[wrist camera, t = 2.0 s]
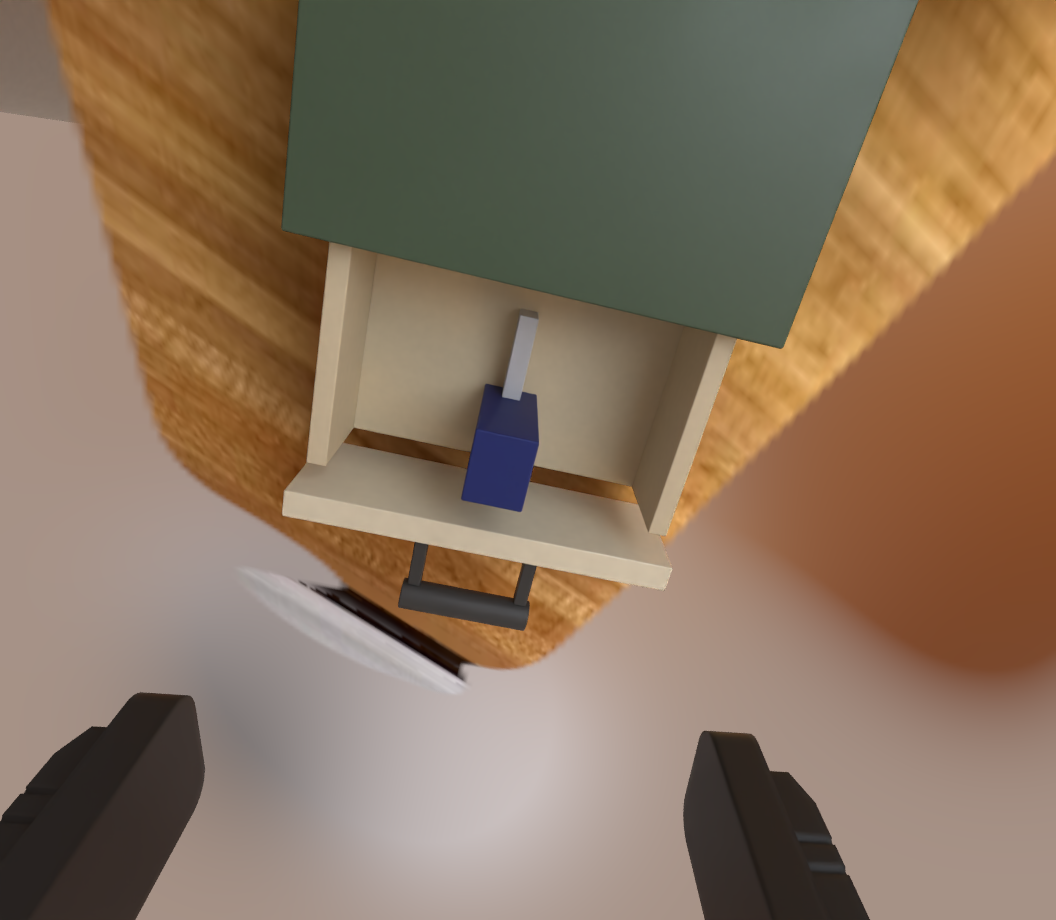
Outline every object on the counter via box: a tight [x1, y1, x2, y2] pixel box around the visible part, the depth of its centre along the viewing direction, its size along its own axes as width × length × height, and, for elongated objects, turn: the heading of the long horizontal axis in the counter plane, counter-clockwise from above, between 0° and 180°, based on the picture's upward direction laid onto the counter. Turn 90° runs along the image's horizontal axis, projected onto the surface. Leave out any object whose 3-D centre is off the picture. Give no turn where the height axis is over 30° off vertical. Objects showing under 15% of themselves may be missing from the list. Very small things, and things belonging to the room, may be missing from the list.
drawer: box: [282, 242, 737, 631], centre depth 28 cm, size 18×16×6 cm
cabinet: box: [281, 0, 919, 349], centre depth 23 cm, size 15×18×8 cm
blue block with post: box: [461, 309, 539, 512], centre depth 26 cm, size 2×7×6 cm, turn 167°
